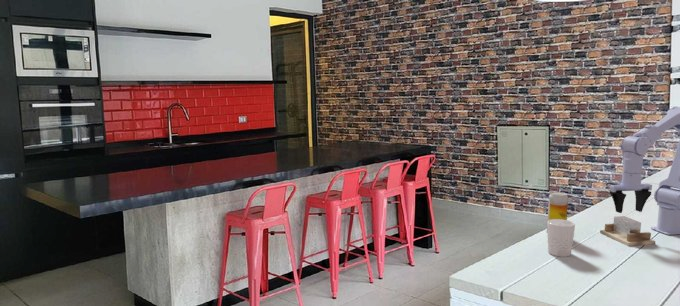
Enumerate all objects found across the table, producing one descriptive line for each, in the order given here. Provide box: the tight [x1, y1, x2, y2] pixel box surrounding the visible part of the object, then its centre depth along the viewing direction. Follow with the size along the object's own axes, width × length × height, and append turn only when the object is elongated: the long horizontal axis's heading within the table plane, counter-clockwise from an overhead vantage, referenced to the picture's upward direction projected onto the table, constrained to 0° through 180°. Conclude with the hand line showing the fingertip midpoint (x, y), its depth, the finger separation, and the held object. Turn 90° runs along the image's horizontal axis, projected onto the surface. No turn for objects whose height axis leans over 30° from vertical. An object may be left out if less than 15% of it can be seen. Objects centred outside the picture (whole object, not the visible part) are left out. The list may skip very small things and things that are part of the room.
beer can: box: [546, 191, 569, 235], centre depth 182 cm, size 6×6×15 cm
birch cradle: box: [599, 223, 656, 247], centre depth 180 cm, size 10×14×4 cm
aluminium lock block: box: [612, 215, 642, 238], centre depth 180 cm, size 4×8×6 cm, turn 10°
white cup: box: [547, 219, 576, 258], centre depth 165 cm, size 8×8×10 cm
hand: (628, 211), depth 179 cm, fingers open, 7 cm apart
